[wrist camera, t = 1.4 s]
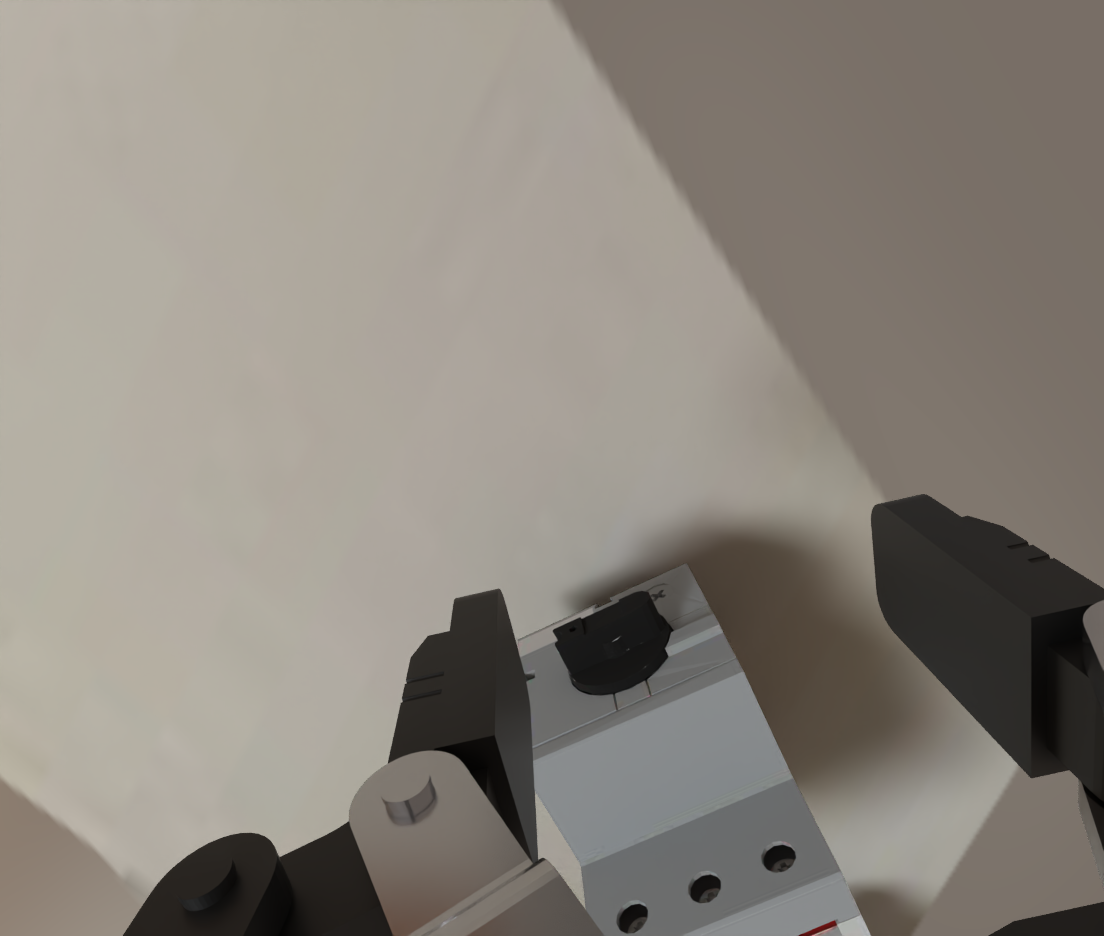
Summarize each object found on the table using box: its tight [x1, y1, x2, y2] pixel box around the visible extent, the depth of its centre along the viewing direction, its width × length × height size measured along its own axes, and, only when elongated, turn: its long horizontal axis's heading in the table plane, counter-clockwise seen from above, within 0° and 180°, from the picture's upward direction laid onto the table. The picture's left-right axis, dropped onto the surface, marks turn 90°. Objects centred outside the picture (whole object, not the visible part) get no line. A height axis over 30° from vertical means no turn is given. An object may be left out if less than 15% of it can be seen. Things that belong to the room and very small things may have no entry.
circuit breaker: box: [518, 563, 871, 936], centre depth 28 cm, size 8×14×15 cm, turn 26°
